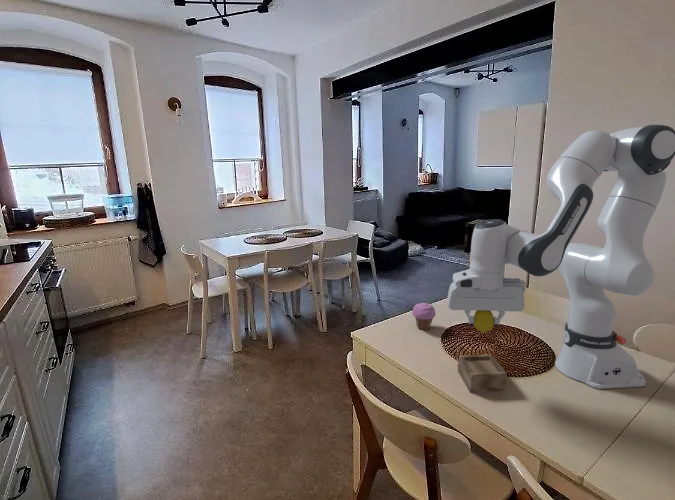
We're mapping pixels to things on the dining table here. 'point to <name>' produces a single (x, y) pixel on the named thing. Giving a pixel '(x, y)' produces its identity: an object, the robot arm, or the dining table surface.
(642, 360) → the dining table surface
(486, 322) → the lemon
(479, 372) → the walnut tray
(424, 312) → the cupcake
